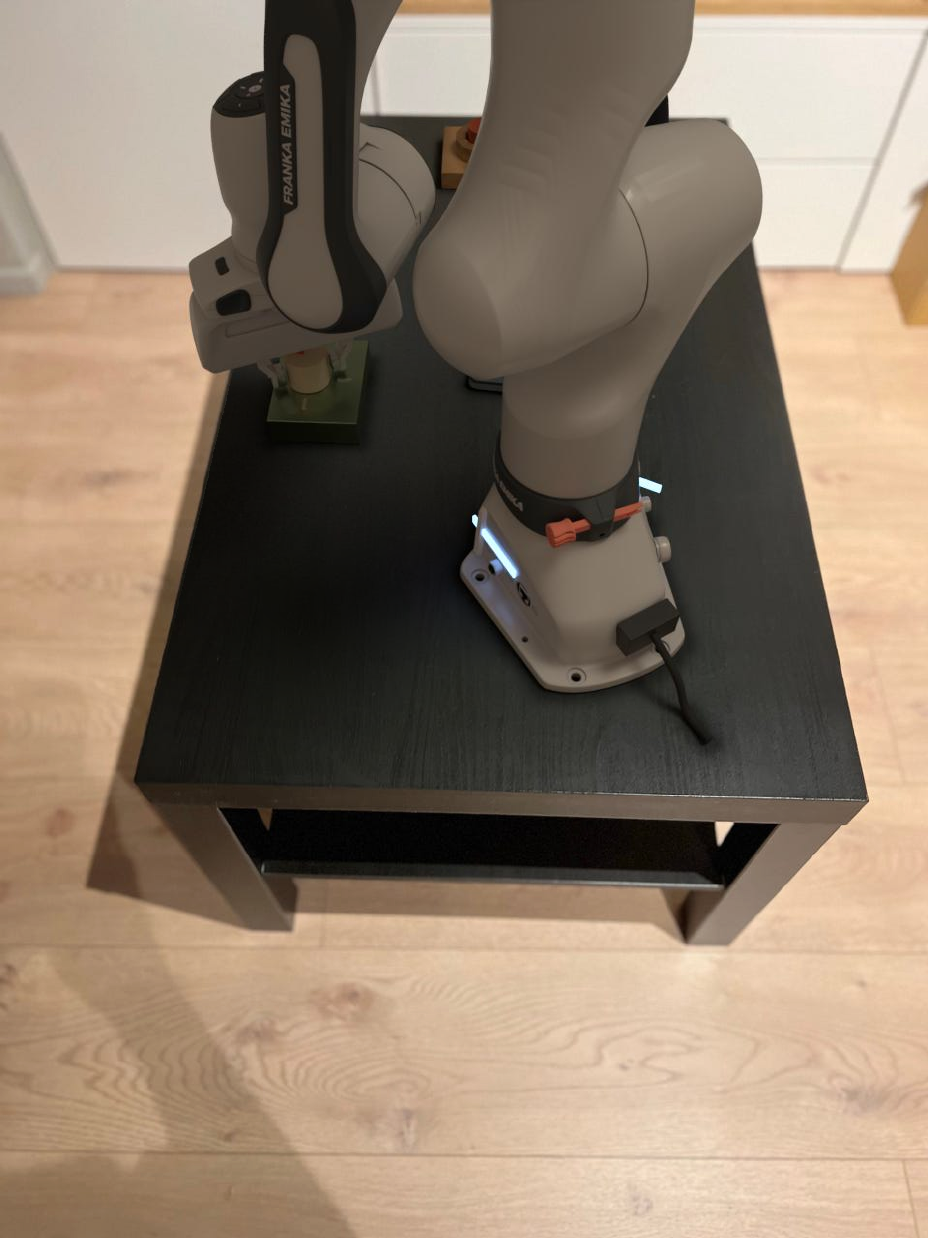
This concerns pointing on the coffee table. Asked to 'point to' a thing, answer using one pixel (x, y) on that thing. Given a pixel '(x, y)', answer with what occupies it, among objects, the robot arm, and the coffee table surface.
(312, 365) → the knob
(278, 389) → the panel
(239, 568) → the coffee table surface
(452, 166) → the button block
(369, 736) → the coffee table surface
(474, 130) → the button
